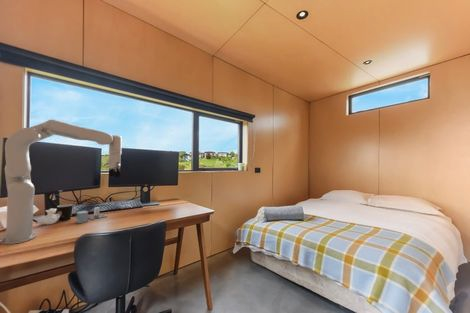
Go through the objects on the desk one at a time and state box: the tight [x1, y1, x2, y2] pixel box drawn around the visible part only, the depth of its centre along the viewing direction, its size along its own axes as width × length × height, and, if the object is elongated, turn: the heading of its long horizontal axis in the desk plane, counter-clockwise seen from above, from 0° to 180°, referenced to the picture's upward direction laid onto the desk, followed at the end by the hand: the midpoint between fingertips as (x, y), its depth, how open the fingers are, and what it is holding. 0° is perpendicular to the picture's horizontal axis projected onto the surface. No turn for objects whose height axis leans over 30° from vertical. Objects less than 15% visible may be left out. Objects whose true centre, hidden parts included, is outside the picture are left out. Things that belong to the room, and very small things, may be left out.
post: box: [88, 207, 108, 221], centre depth 147 cm, size 10×10×7 cm
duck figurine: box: [37, 208, 60, 226], centre depth 131 cm, size 12×8×11 cm
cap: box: [75, 210, 89, 224], centre depth 136 cm, size 5×5×7 cm
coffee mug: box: [54, 203, 74, 222], centre depth 140 cm, size 12×9×10 cm
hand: (114, 176), depth 141 cm, fingers open, 9 cm apart
